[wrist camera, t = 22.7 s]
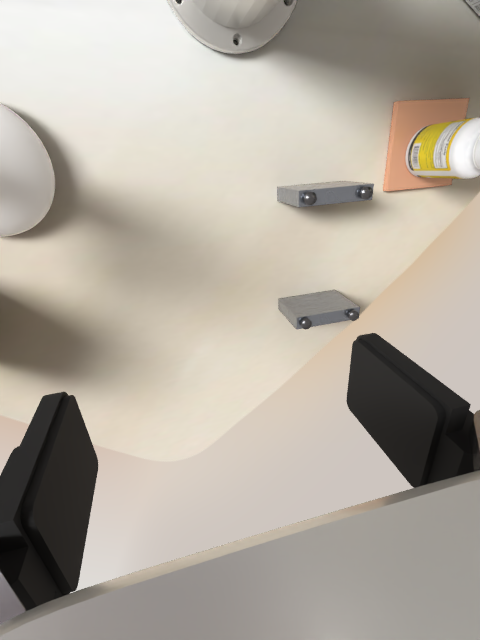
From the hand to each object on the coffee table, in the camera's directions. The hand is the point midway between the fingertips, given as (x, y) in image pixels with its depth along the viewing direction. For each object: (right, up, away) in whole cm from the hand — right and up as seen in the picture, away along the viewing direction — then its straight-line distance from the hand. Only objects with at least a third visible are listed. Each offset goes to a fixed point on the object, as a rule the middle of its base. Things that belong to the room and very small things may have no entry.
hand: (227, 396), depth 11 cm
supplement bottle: (+22, +22, +27) cm, 41 cm away
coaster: (+22, +23, +27) cm, 42 cm away
